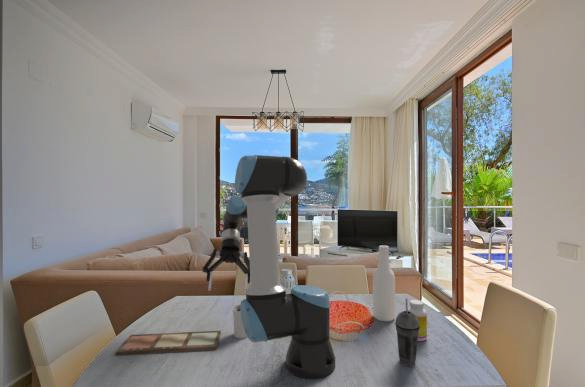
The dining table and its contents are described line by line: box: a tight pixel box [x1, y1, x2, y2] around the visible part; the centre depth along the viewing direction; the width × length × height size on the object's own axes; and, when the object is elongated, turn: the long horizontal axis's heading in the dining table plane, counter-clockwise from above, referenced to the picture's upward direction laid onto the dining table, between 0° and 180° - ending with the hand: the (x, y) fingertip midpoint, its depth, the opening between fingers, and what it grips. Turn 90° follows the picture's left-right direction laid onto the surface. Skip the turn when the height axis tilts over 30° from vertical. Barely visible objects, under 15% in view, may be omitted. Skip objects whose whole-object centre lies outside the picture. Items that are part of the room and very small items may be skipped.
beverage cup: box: [394, 298, 420, 367], centre depth 96 cm, size 7×7×20 cm
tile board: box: [115, 330, 222, 356], centre depth 108 cm, size 12×32×1 cm, turn 96°
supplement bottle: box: [408, 299, 428, 342], centre depth 112 cm, size 7×7×13 cm
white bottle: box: [372, 244, 396, 323], centre depth 129 cm, size 9×9×30 cm
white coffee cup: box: [232, 304, 248, 339], centre depth 114 cm, size 7×7×10 cm
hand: (228, 290), depth 117 cm, fingers open, 13 cm apart
